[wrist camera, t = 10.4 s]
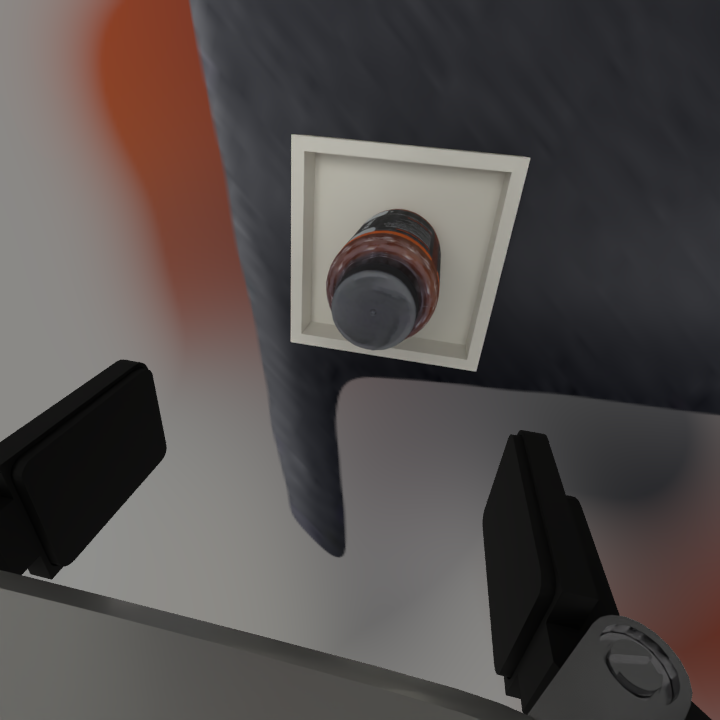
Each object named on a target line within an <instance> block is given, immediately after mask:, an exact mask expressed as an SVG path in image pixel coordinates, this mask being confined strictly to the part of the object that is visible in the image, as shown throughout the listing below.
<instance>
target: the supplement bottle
mask: <svg viewBox="0 0 720 720" xmlns="http://www.w3.org/2000/svg"><path fill="white" fill-rule="evenodd" d="M440 266H441V250H440V243H439V240H438V237H437V234H436V232H435V230H434V228H433V227H432V226H431V224H430V223H429V222H428V221H427V220H426V219H424V218H423V217H422V216H420V215H419V214H417V213H415V212H412V211H409V210H405V209H391V210H386V211H383V212H380V213H378V214H376V215H375V216H373V217H372V218H370V219H369V220H368V221H367V222H366V223H364V224H363V226H361V228H360V229H359V230H358V231H357V232H356V234H355V235H354V236H353V237H352V238H351V239H350V240H349V241H348V242H347V244H346V245H345V246H344V247H343V248H342V249H341V251H340V252H339V253H338V254H337V256H336V257H335V259H334V260H333V262H332V264H331V266H330V269H329V272H328V276H327V280H326V292H327V300H328V303H329V307H330V309H331V311H332V317H333V321H334V323H335V326H336V327H337V329H338V330H339V332H340V333H341V334H342V336H343V337H344V338H345V339H346V340H348V341H349V342H351V343H352V344H353V345H355V346H358V347H360V348H364V349H369V350H385V349H388V348H391V347H394V346H396V345H397V344H399V343H401V342H402V341H403V340H405V339H408V338H410V337H412V336H413V335H415V334H416V333H418V332H419V331H420V330H421V329H422V328H423V327H424V326H425V325H426V324H427V323H428V321H429V320H430V318H431V317H432V315H433V313H434V311H435V308H436V305H437V302H438V297H439V287H440V268H441V267H440Z"/></svg>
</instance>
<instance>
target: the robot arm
mask: <svg viewBox="0 0 720 720" xmlns="http://www.w3.org/2000/svg"><path fill="white" fill-rule="evenodd" d="M165 453H166V441H165V436H164V431H163V426H162V421H161V415H160V411H159V405H158V400H157V395H156V391H155V385H154V380H153V375H152V372H151V371H150V370H148V368H147V366H146V365H145V364H143V363H140V362H134V361H129V360H119V361H117V362H115V363H114V364H112V365H111V366H110V367H109V368H107V369H105V370H104V371H102V372H101V373H100V374H98V375H97V376H95V377H94V378H92V379H91V380H90V381H88V382H86V383H85V384H84V385H82V386H81V387H79V388H78V389H76V390H75V391H73V392H72V393H71V394H69V395H68V396H66V397H65V398H63V399H62V400H61V401H59V402H58V403H56V404H55V405H53V406H52V407H50V408H49V409H48V410H46V411H45V412H43V413H42V414H40V415H39V416H37V417H36V418H34V419H33V420H32V421H30V422H29V423H27V424H26V425H25V426H23V427H21V428H20V429H19V430H17V431H16V432H14V433H13V434H11V435H10V436H8V437H7V438H6V439H4V440H3V441H1V442H0V720H711V719H710V718H709V717H708V716H707V715H706V714H705V713H704V712H702V710H700V709H699V708H698V707H697V706H696V705H695V704H694V703H693V702H692V701H691V698H692V689H691V685H690V680H689V677H688V675H687V673H686V671H685V669H684V667H683V665H682V663H681V661H680V660H679V658H678V657H677V656H676V654H675V653H674V652H673V650H672V649H671V648H670V647H669V645H668V644H666V643H665V642H664V641H663V640H662V639H661V638H660V637H659V636H658V635H657V634H656V633H655V632H653V631H651V630H650V629H648V628H647V627H645V626H644V625H642V624H640V623H639V622H637V621H634V620H631V619H629V618H627V617H623V616H619V612H618V610H617V607H616V604H615V601H614V598H613V596H612V592H611V590H610V587H609V584H608V581H607V578H606V575H605V573H604V570H603V567H602V564H601V561H600V559H599V555H598V553H597V550H596V547H595V544H594V541H593V539H592V536H591V533H590V530H589V527H588V524H587V521H586V518H585V516H584V513H583V510H582V507H581V505H580V503H579V501H578V500H577V499H576V498H575V497H572V496H566V495H565V491H564V488H563V485H562V482H561V479H560V476H559V473H558V469H557V466H556V463H555V460H554V457H553V454H552V450H551V448H550V444H549V441H548V438H547V436H546V435H545V434H541V433H535V432H529V431H523V430H520V431H519V432H518V434H517V435H510V436H509V438H508V441H507V444H506V447H505V450H504V453H503V456H502V459H501V462H500V465H499V468H498V471H497V474H496V477H495V480H494V483H493V486H492V489H491V492H490V495H489V498H488V501H487V504H486V507H485V510H484V514H483V536H484V548H485V560H486V572H487V583H488V596H489V608H490V620H491V631H492V643H493V656H494V666H495V671H496V673H497V674H498V675H502V676H504V682H505V692H506V695H507V696H511V697H515V698H519V699H521V704H522V711H523V713H521V712H519V711H517V710H514V709H512V708H510V707H507V706H505V705H503V704H500V703H497V702H494V701H491V700H488V699H485V698H482V697H480V696H477V695H473V694H470V693H467V692H464V691H462V690H459V689H455V688H452V687H448V686H445V685H441V684H438V683H434V682H430V681H427V680H424V679H420V678H416V677H413V676H409V675H406V674H402V673H398V672H395V671H391V670H388V669H384V668H380V667H377V666H374V665H370V664H366V663H362V662H358V661H355V660H351V659H346V658H343V657H339V656H336V655H332V654H328V653H324V652H320V651H316V650H312V649H309V648H305V647H301V646H297V645H293V644H289V643H286V642H282V641H278V640H274V639H271V638H267V637H263V636H259V635H255V634H251V633H247V632H244V631H240V630H236V629H232V628H228V627H224V626H220V625H216V624H212V623H208V622H205V621H201V620H197V619H193V618H189V617H185V616H181V615H177V614H173V613H169V612H165V611H161V610H158V609H154V608H149V607H146V606H142V605H138V604H134V603H130V602H126V601H122V600H118V599H114V598H110V597H106V596H102V595H98V594H94V593H90V592H86V591H82V590H78V589H74V588H70V587H66V586H62V585H58V584H54V583H50V582H46V581H42V580H38V579H34V578H30V577H26V576H22V574H23V573H24V572H25V571H26V570H27V569H28V570H29V572H30V574H32V575H36V576H40V577H44V578H48V579H53V578H54V576H55V575H56V574H57V573H58V572H59V571H60V570H61V569H62V568H63V566H67V565H69V564H71V563H72V562H73V561H74V560H75V559H76V558H77V557H78V555H79V554H80V553H81V552H82V551H83V550H84V549H85V547H86V546H87V545H88V544H89V543H90V542H91V541H92V539H93V538H94V537H95V536H96V535H97V534H98V533H99V531H100V530H101V529H102V528H103V527H104V526H105V525H106V523H107V522H108V521H109V520H110V519H111V518H112V517H113V515H114V514H115V513H116V512H117V511H118V510H119V509H120V507H121V506H122V505H123V504H124V503H125V502H126V501H127V499H128V498H129V497H130V496H131V495H132V494H133V493H134V491H135V490H136V489H137V488H138V487H139V486H140V485H141V483H142V482H143V481H144V480H145V479H146V478H147V477H148V475H149V474H150V473H151V472H152V471H153V470H154V469H155V467H156V466H157V465H158V464H159V463H160V462H161V461H162V459H163V458H164V456H165Z"/></svg>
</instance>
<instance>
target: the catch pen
mask: <svg viewBox="0 0 720 720" xmlns="http://www.w3.org/2000/svg"><path fill="white" fill-rule="evenodd" d="M529 162H530V158H528V157H524V156H516V155H506V154H496V153H486V152H476V151H466V150H455V149H445V148H435V147H425V146H415V145H405V144H394V143H384V142H374V141H364V140H354V139H344V138H333V137H323V136H313V135H293V134H291V342H294V343H300V344H307V345H313V346H319V347H325V348H332V349H338V350H344V351H350V352H357V353H363V354H369V355H376V356H382V357H388V358H394V359H401V360H407V361H413V362H419V363H426V364H432V365H438V366H444V367H451V368H457V369H463V370H470V371H476V370H477V366H478V362H479V359H480V355H481V351H482V347H483V343H484V339H485V335H486V331H487V327H488V323H489V319H490V315H491V311H492V307H493V303H494V300H495V296H496V292H497V288H498V284H499V280H500V276H501V272H502V268H503V264H504V260H505V256H506V252H507V248H508V245H509V241H510V237H511V233H512V229H513V225H514V221H515V217H516V213H517V209H518V205H519V201H520V197H521V193H522V190H523V186H524V182H525V178H526V174H527V170H528V166H529ZM391 209H405V210H409V211H412V212H415V213H417V214H419V215H420V216H422V217H423V218H424V219H426V220H427V221H428V222H429V223H430V224H431V226H432V227H433V228H434V230H435V232H436V234H437V237H438V240H439V243H440V250H441V266H440V267H441V268H440V287H439V297H438V302H437V305H436V308H435V311H434V313H433V315H432V317H431V318H430V320H429V321H428V323H427V324H426V325H425V326H424V327H423V328H422V329H421V330H420V331H419V332H418V333H416V334H415V335H413V336H412V337H410V338H408V339H405V340H403V341H402V342H401V343H399V344H397V345H396V346H394V347H391V348H388V349H385V350H369V349H364V348H360V347H358V346H355V345H353V344H352V343H351V342H349V341H348V340H346V339H345V338H344V337H343V336H342V334H341V333H340V332H339V330H338V329H337V327H336V326H335V323H334V321H333V317H332V311H331V309H330V307H329V303H328V300H327V292H326V280H327V276H328V272H329V269H330V266H331V264H332V262H333V260H334V259H335V257H336V256H337V254H338V253H339V252H340V251H341V249H342V248H343V247H344V246H345V245H346V244H347V242H348V241H349V240H350V239H351V238H352V237H353V236H354V235H355V234H356V232H357V231H358V230H359V229H360V228H361V226H363V224H364V223H366V222H367V221H368V220H369V219H370V218H372V217H373V216H375V215H376V214H378V213H380V212H383V211H386V210H391Z"/></svg>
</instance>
